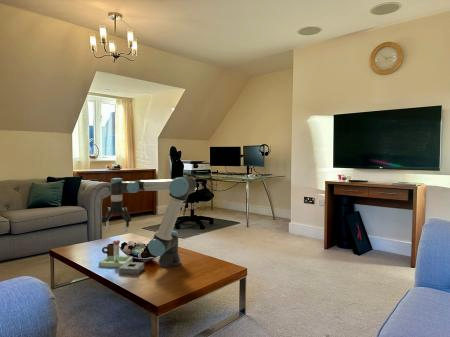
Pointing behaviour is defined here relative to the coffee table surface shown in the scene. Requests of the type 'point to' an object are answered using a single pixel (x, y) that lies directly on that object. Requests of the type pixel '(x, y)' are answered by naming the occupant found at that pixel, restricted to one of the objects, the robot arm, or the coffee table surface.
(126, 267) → the block
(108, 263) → the tray
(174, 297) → the coffee table surface
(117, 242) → the pin
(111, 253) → the mug
